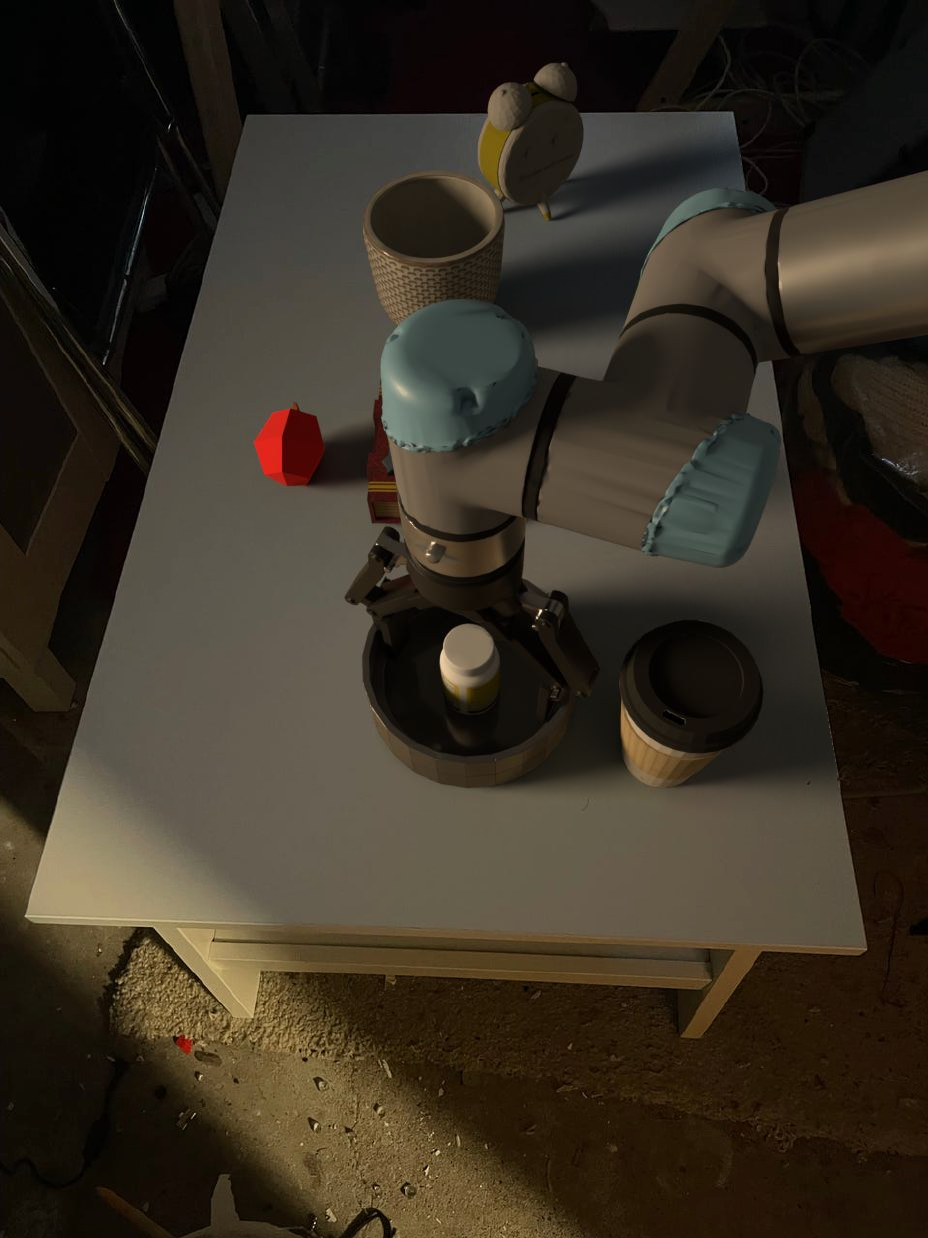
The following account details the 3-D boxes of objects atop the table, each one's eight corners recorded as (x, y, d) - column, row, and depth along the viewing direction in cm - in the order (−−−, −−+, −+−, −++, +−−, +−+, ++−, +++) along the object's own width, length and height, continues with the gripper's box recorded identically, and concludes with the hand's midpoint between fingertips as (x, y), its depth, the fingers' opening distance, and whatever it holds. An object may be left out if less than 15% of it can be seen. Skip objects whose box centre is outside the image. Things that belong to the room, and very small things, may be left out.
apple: (304, 475, 81) (316, 391, 82) (238, 474, 83) (250, 392, 84) (335, 497, 88) (346, 419, 88) (274, 494, 89) (284, 418, 90)
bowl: (602, 647, 78) (611, 611, 72) (524, 824, 71) (527, 800, 65) (426, 578, 82) (421, 539, 76) (335, 739, 74) (322, 709, 69)
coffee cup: (738, 730, 74) (792, 650, 61) (690, 832, 70) (736, 770, 57) (631, 677, 76) (659, 588, 63) (578, 772, 73) (597, 699, 59)
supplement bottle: (506, 674, 76) (508, 628, 69) (490, 723, 74) (490, 681, 67) (453, 659, 77) (449, 612, 70) (435, 707, 75) (429, 664, 68)
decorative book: (369, 527, 85) (362, 496, 80) (383, 398, 92) (378, 363, 88) (488, 529, 84) (488, 498, 80) (493, 399, 92) (493, 364, 87)
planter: (525, 297, 99) (529, 192, 87) (466, 382, 93) (463, 281, 82) (415, 259, 102) (406, 154, 91) (353, 339, 96) (334, 237, 85)
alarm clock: (554, 173, 109) (562, 44, 96) (588, 202, 106) (602, 74, 93) (475, 210, 106) (473, 83, 93) (509, 241, 103) (511, 115, 90)
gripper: (260, 509, 56) (318, 658, 75) (634, 656, 50) (595, 777, 69) (319, 424, 59) (361, 587, 78) (677, 553, 53) (629, 695, 72)
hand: (471, 677), depth 73 cm, fingers open, 13 cm apart
